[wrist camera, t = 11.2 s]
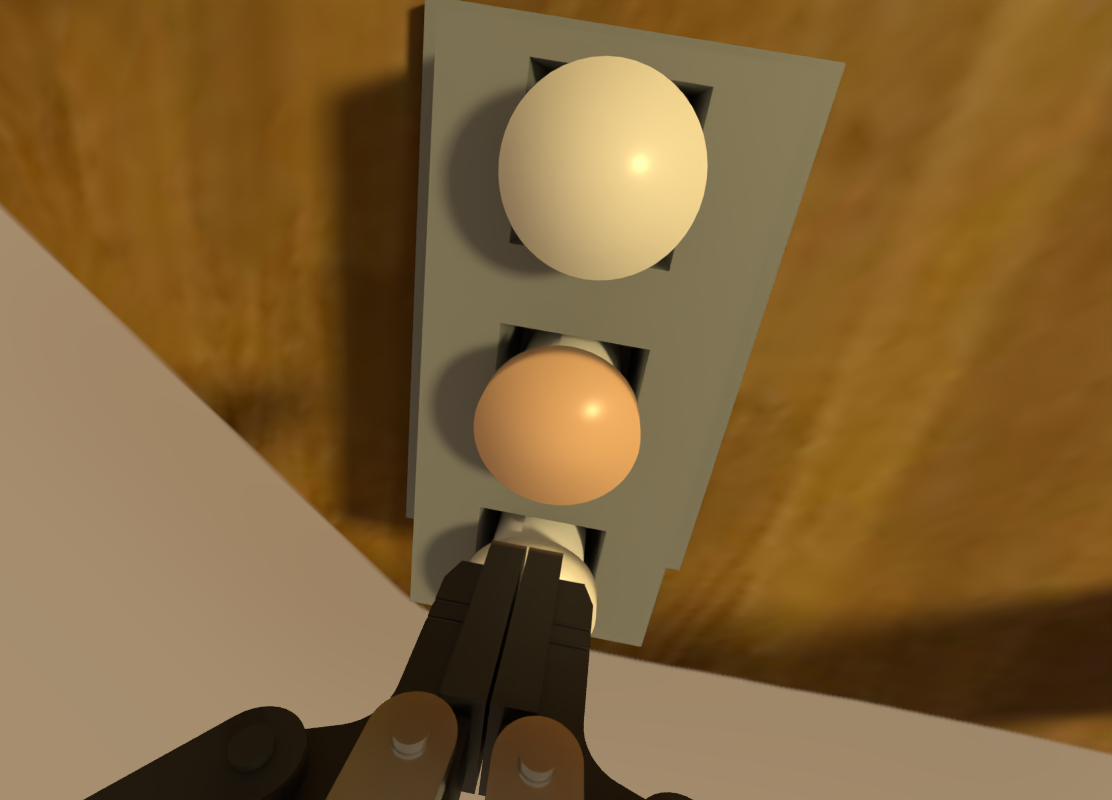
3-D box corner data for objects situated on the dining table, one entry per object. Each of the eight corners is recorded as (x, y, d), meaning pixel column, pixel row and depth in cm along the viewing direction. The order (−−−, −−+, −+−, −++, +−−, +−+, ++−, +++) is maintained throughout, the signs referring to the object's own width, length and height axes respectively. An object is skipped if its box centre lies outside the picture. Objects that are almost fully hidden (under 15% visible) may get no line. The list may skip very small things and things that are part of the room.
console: (835, 66, 19) (937, 35, 13) (677, 556, 29) (691, 675, 23) (434, 1, 20) (344, -58, 13) (412, 505, 29) (354, 607, 23)
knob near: (693, 94, 19) (734, 75, 12) (660, 238, 21) (678, 296, 14) (553, 71, 19) (510, 38, 12) (535, 217, 21) (489, 262, 14)
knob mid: (647, 295, 22) (657, 375, 15) (623, 403, 24) (621, 518, 17) (527, 274, 22) (481, 343, 15) (513, 382, 24) (467, 488, 17)
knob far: (613, 446, 25) (608, 572, 18) (594, 529, 27) (582, 672, 20) (508, 426, 25) (462, 543, 18) (497, 511, 28) (452, 645, 20)
